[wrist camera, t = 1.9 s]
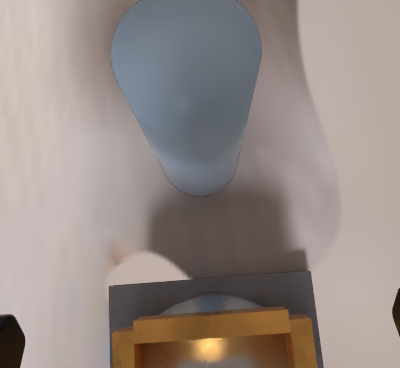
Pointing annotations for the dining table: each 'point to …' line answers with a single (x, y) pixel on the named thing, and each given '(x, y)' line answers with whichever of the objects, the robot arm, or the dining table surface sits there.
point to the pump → (189, 84)
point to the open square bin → (216, 323)
